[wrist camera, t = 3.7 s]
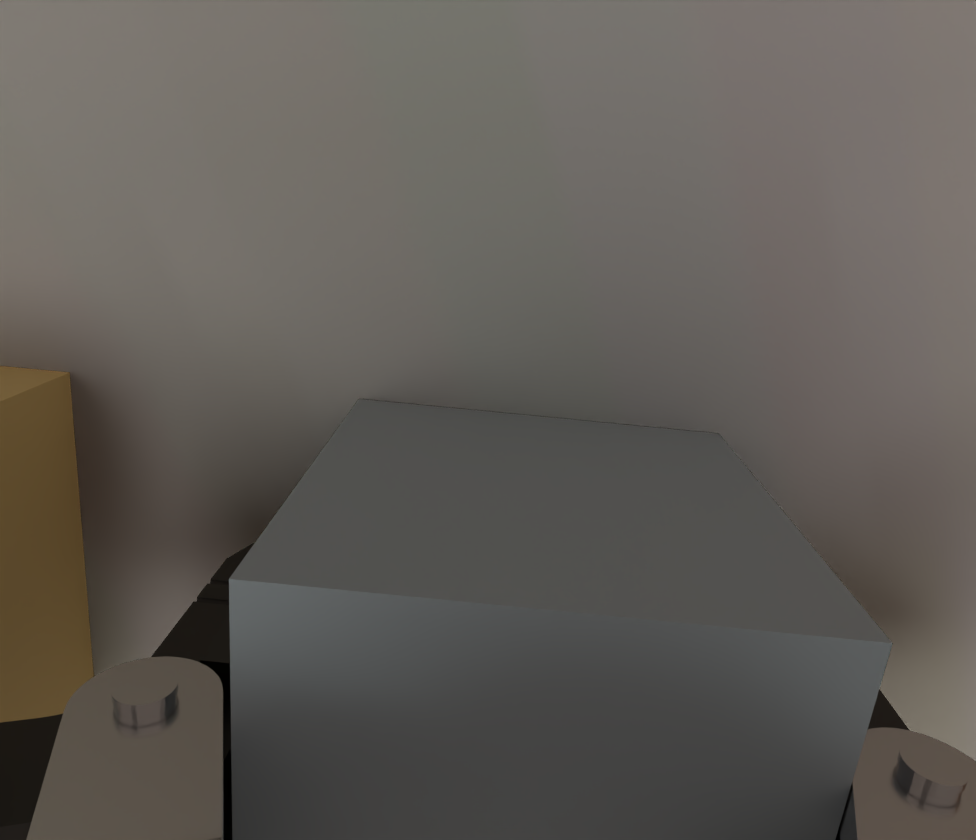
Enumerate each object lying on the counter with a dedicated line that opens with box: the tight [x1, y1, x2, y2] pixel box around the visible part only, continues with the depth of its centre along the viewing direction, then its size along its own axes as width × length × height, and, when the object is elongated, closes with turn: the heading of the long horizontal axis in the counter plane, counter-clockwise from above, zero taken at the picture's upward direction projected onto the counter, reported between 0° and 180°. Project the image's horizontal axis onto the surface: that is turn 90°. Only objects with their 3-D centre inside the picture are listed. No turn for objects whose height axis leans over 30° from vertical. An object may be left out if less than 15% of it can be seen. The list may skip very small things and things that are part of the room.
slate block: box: [229, 399, 893, 840], centre depth 9 cm, size 5×5×5 cm
